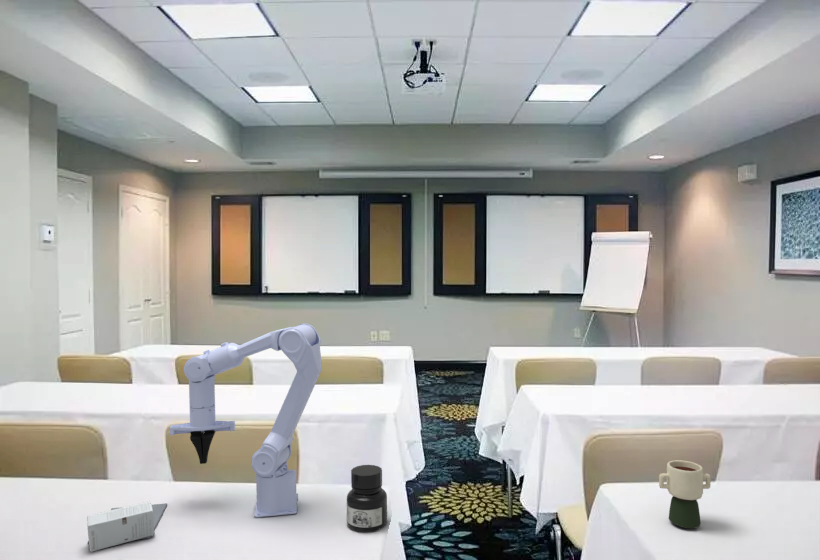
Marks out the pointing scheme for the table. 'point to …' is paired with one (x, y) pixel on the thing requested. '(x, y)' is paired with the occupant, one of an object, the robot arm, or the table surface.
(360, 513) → the ink bottle
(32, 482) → the table surface
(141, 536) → the skincare box
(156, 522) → the slate mat
